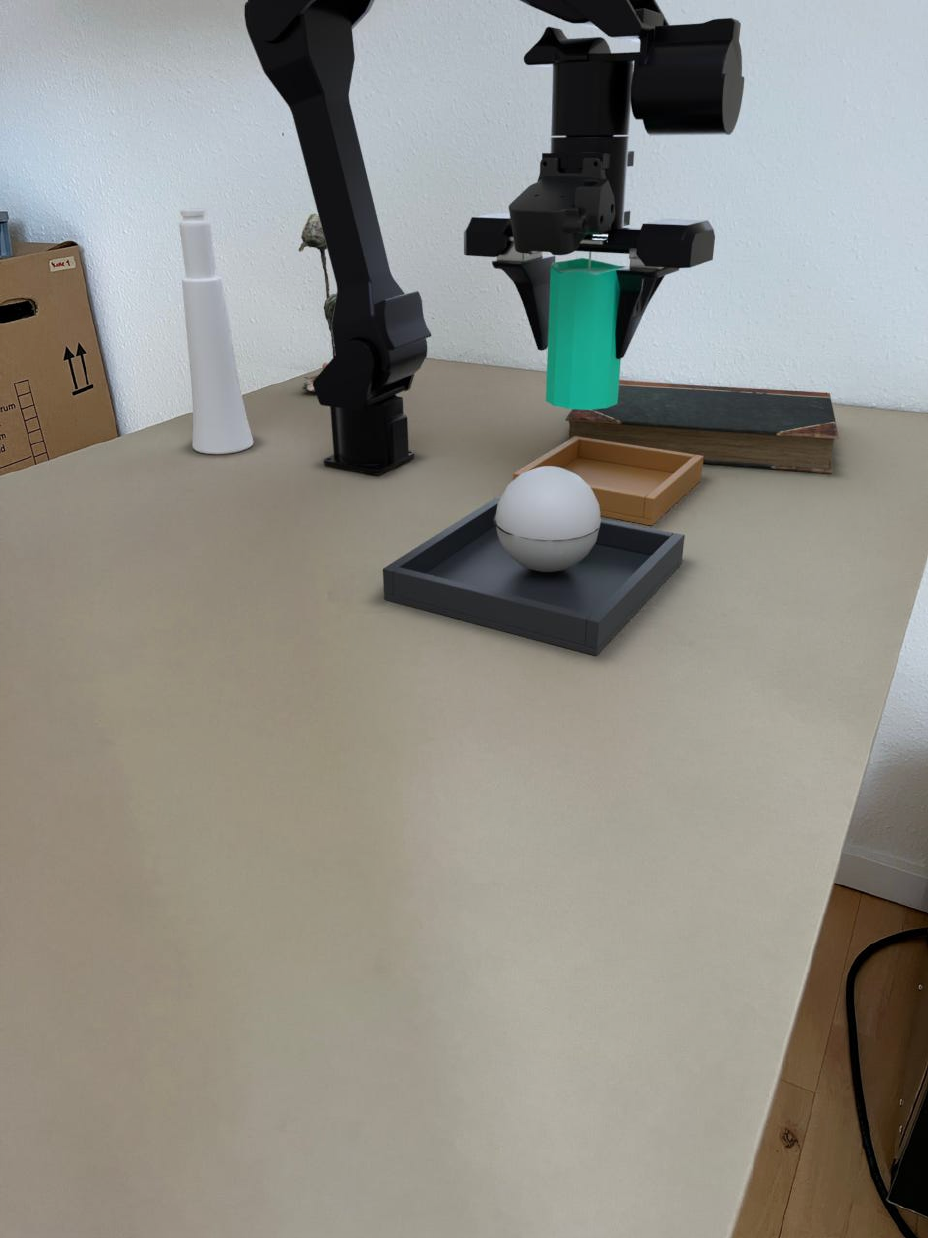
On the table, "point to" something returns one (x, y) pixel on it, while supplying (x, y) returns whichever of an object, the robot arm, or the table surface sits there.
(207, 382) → the cosmetic bottle
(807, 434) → the book
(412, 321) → the robot arm
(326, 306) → the plant with pod
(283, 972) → the table surface
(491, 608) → the dark tray
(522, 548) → the white sphere
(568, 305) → the candle
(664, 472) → the wood tray
